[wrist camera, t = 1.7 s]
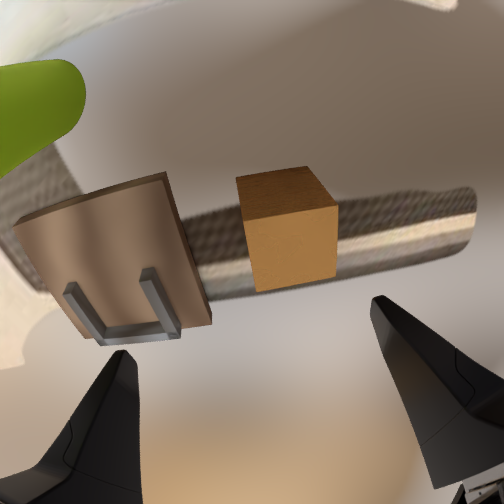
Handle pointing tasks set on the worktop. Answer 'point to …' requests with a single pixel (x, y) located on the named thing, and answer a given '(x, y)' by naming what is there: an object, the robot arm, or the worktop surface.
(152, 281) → the dock
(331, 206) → the block
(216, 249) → the worktop surface
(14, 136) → the soap dispenser
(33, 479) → the robot arm
